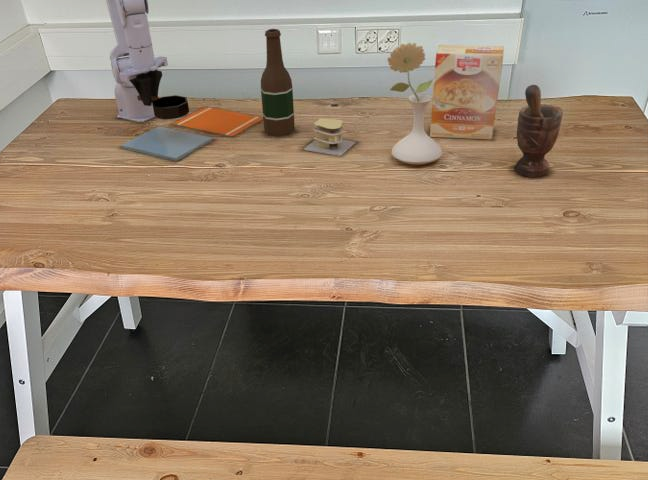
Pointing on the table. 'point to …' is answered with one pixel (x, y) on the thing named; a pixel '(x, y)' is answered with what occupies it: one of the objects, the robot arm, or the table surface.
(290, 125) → the beer bottle
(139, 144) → the trivet
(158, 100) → the skillet
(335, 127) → the stacked layers on plate
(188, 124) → the tea towel
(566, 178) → the table surface
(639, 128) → the table surface
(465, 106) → the coffeecake box
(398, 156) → the flower in vase
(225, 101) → the table surface
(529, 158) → the mortar and pestle
